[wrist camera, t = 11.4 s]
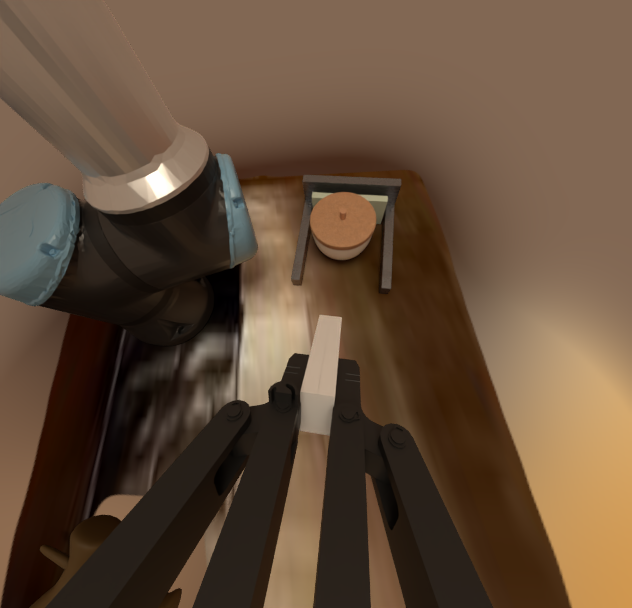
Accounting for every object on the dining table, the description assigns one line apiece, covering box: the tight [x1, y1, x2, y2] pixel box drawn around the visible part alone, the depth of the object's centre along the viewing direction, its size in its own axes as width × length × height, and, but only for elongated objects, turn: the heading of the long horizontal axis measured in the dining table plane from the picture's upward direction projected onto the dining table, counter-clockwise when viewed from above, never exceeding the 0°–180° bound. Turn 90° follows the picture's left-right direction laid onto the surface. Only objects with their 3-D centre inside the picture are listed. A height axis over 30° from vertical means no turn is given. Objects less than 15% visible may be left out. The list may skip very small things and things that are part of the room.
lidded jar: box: [310, 192, 376, 260], centre depth 40 cm, size 11×11×9 cm
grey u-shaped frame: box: [291, 175, 401, 294], centre depth 41 cm, size 17×18×7 cm
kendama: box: [30, 515, 182, 608], centre depth 29 cm, size 6×10×20 cm
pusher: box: [312, 192, 388, 224], centre depth 43 cm, size 13×1×6 cm, turn 83°
